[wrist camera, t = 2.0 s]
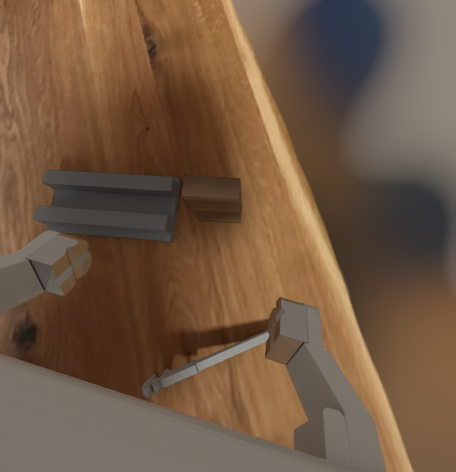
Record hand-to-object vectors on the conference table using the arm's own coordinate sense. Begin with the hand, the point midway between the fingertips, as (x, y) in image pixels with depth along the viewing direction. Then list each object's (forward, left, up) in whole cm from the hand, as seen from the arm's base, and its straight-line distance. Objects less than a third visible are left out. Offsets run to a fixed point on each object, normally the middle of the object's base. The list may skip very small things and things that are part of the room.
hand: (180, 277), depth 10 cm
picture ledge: (+10, +19, -26) cm, 34 cm away
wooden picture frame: (+10, +2, -26) cm, 28 cm away
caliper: (-10, 0, -27) cm, 28 cm away
